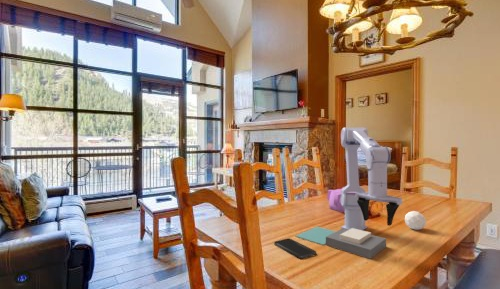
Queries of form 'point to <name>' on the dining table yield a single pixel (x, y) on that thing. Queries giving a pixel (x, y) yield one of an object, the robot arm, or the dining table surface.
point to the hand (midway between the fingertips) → (377, 222)
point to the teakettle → (336, 200)
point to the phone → (295, 248)
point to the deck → (363, 249)
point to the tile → (355, 235)
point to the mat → (316, 235)
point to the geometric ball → (415, 220)
